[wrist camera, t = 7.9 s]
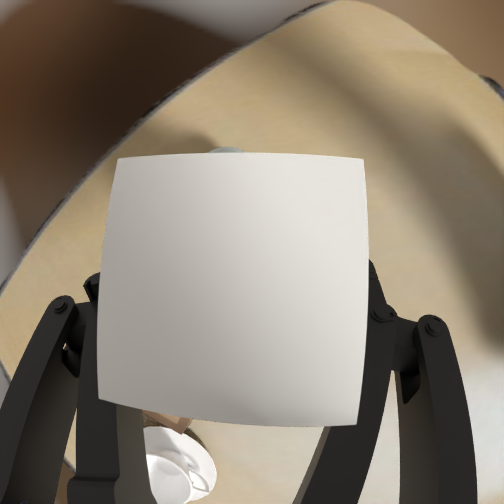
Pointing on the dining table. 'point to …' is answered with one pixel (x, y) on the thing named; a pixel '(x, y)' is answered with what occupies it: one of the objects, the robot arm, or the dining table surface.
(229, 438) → the dining table surface
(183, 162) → the milk carton
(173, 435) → the teacup
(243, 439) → the dining table surface
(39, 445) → the robot arm
